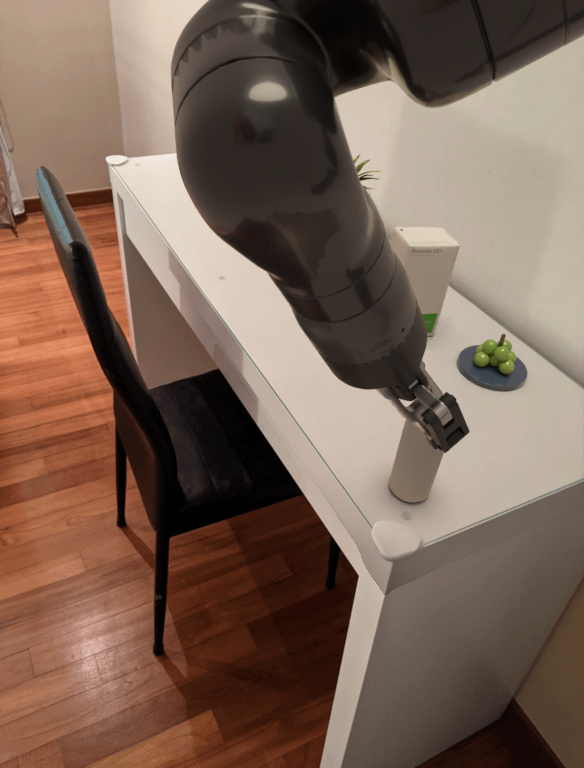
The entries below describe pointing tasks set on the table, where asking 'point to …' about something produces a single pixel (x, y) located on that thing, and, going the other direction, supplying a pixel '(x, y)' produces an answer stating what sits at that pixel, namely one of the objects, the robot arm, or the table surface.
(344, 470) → the table surface
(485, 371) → the grapes
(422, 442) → the beverage can
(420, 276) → the cosmetic box
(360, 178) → the house plant
